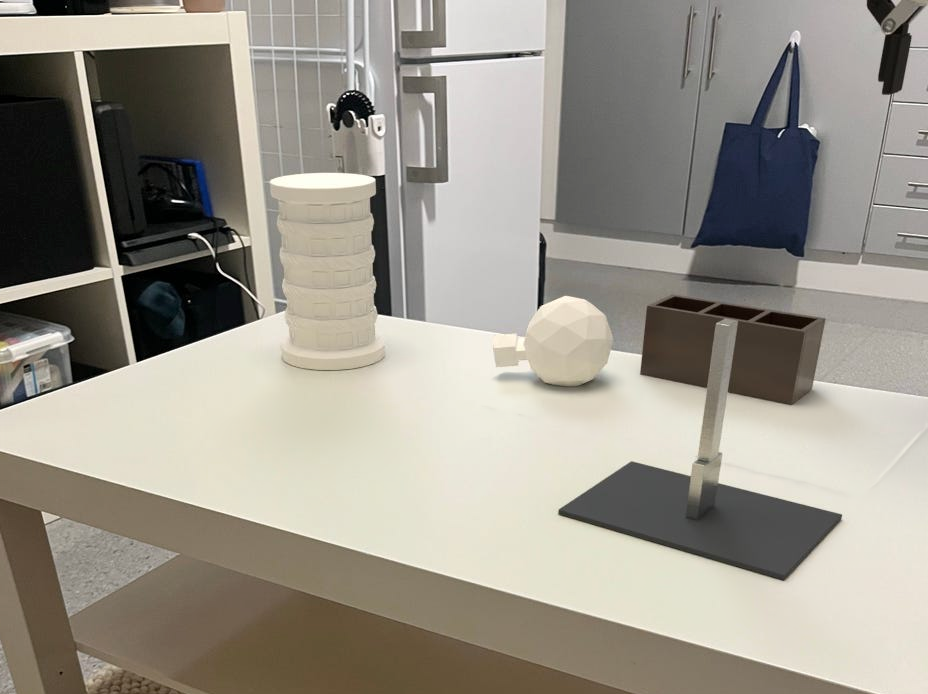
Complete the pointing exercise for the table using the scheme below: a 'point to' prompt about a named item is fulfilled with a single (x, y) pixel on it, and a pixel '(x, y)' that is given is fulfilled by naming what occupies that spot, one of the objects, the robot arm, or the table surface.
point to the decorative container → (328, 270)
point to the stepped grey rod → (712, 423)
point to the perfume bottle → (560, 343)
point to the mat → (705, 519)
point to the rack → (755, 351)
